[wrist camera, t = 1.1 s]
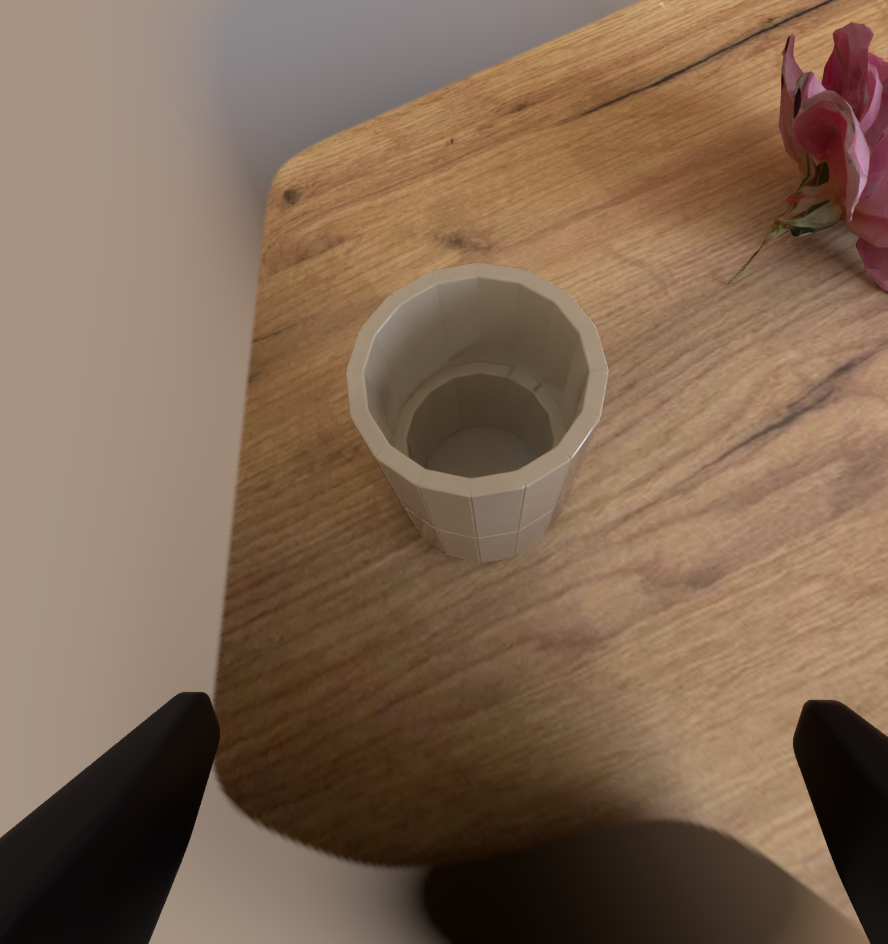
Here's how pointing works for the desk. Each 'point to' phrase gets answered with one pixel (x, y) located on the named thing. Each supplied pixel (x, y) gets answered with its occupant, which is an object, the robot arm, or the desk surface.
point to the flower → (838, 147)
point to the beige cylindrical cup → (478, 404)
